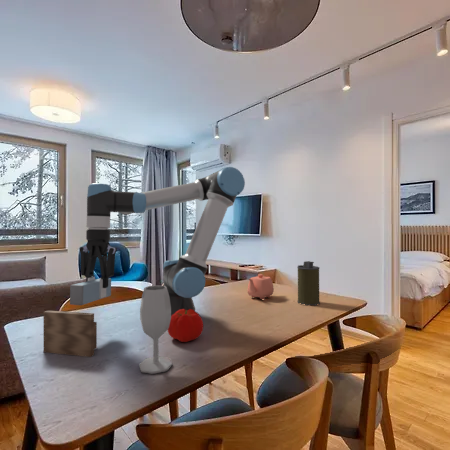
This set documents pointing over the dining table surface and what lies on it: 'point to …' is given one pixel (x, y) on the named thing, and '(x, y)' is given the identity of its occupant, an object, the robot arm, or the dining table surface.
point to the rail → (87, 292)
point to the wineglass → (155, 325)
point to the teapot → (260, 286)
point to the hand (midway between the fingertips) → (96, 296)
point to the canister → (308, 284)
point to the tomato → (185, 325)
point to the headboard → (70, 333)
